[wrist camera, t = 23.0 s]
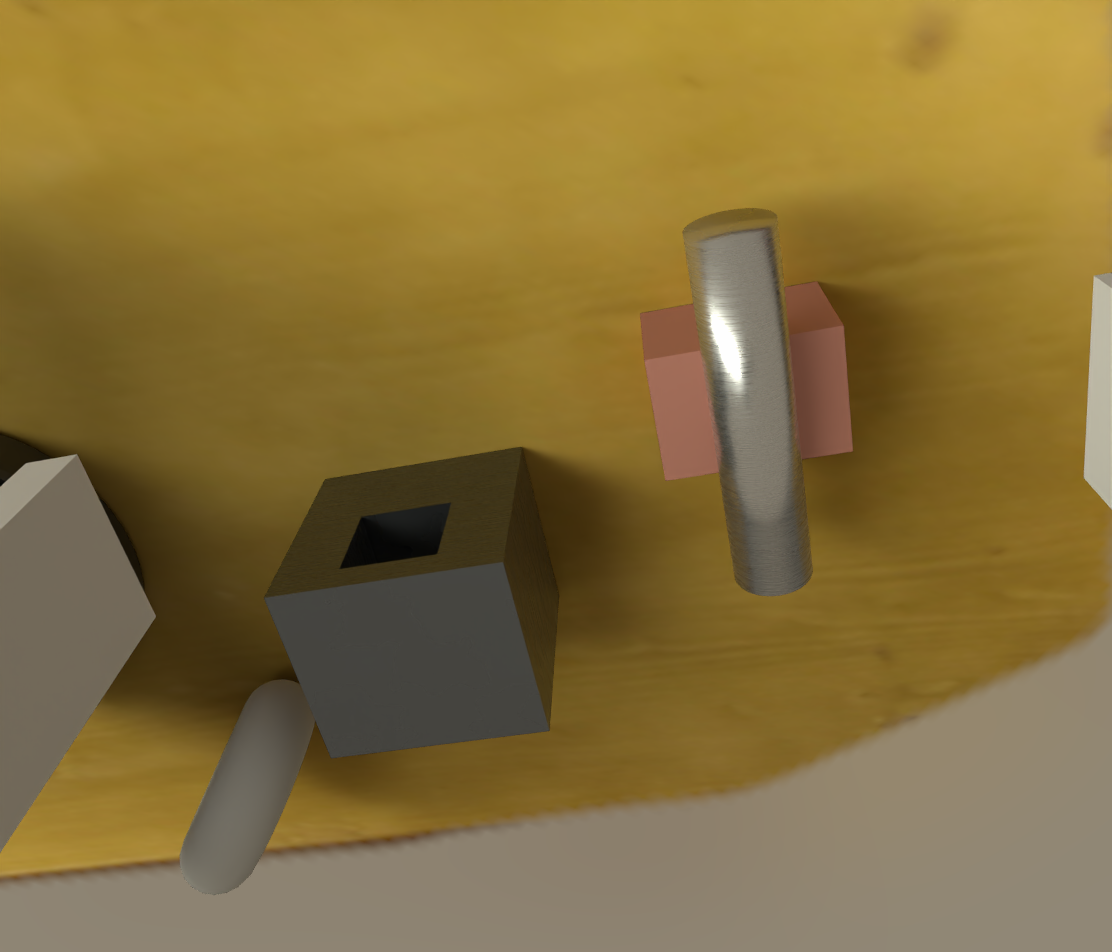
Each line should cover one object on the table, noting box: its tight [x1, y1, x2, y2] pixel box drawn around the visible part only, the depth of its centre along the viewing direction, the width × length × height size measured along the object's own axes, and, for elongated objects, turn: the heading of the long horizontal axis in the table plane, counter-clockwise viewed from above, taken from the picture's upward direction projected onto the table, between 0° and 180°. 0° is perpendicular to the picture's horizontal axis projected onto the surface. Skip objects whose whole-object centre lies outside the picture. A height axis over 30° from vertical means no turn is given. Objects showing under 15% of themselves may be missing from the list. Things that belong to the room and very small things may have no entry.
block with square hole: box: [264, 447, 559, 758], centre depth 41 cm, size 9×8×9 cm
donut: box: [180, 679, 315, 895], centre depth 46 cm, size 10×4×10 cm, turn 152°
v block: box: [640, 282, 853, 481], centre depth 38 cm, size 7×5×5 cm
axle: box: [683, 208, 813, 596], centre depth 35 cm, size 3×14×3 cm, turn 13°
